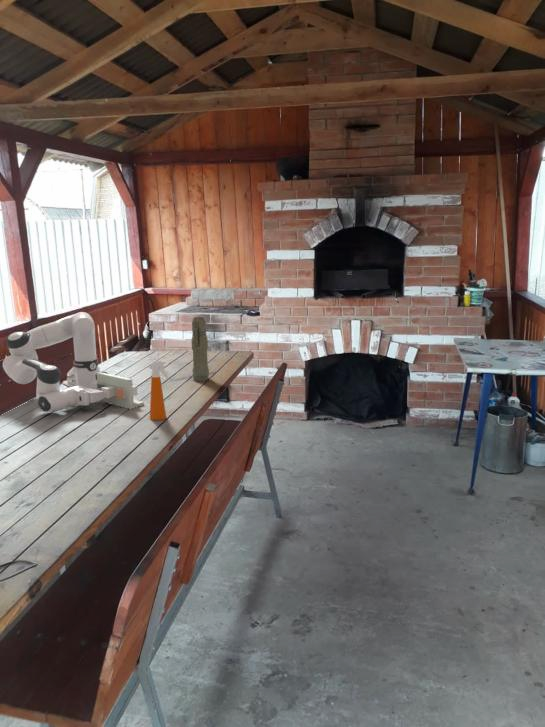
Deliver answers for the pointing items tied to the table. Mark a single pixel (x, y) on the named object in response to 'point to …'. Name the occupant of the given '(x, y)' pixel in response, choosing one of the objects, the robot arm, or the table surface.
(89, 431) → the table surface
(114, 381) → the panel
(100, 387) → the button charcoal
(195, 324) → the green thermos flask
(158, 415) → the spray bottle
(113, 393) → the button cream
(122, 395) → the button terracotta
